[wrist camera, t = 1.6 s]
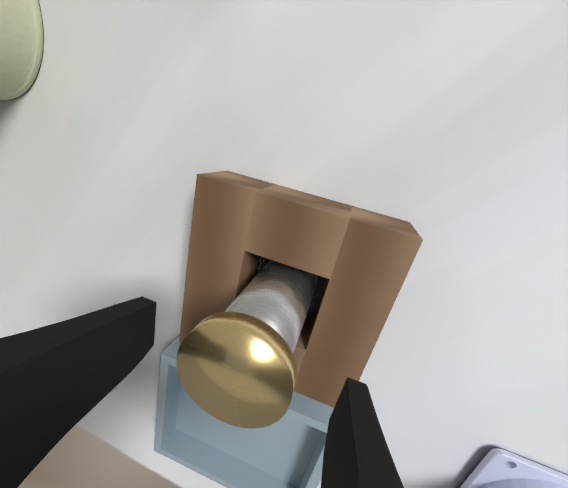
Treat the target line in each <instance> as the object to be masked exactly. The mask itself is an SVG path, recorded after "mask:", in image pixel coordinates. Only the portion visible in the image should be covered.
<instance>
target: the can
mask: <svg viewBox="0 0 568 488" xmlns="http://www.w3.org/2000/svg"><path fill="white" fill-rule="evenodd" d="M42 52H43V25H42V17H41V11H40V6H39V2H38V0H0V100H10V99H14V98H17V97H19V96H21V95H22V94H23V93H25V92H26V91H27V90H28V89H29V88H30V87H31V85H32V83H33V82H34V80H35V78H36V76H37V74H38V71H39V68H40V64H41V59H42Z"/></svg>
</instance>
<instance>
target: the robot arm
mask: <svg viewBox="0 0 568 488" xmlns="http://www.w3.org/2000/svg"><path fill="white" fill-rule="evenodd" d="M155 316H156V302H154V301H152V300H149V299H147V298H144V297H140V298H136V299H132V300H129V301H126V302H123V303H119V304H116V305H113V306H110V307H107V308H104V309H101V310H98V311H95V312H91V313H88V314H85V315H82V316H79V317H76V318H72V319H69V320H66V321H62V322H59V323H55V324H52V325H48V326H45V327H41V328H38V329H34V330H31V331H27V332H23V333H19V334H16V335H12V336H8V337H3V338H0V488H17V487H18V486H19V485H20V484H21V483H22V482H23V480H24V479H25V478H26V477H27V476H28V475H29V474H30V472H31V471H32V470H33V469H34V468H35V467H36V466H37V465H38V464H39V463H40V461H41V460H42V459H43V458H44V457H45V456H46V455H47V453H48V452H49V451H50V450H51V449H52V448H53V447H54V446H55V445H56V444H57V443H58V441H59V440H61V439H62V438H63V436H64V435H65V434H66V433H67V432H68V431H69V430H70V429H71V428H72V427H73V426H74V425H75V424H77V423H78V422H79V421H80V420H81V419H82V418H83V417H84V416H85V415H86V414H87V413H88V412H89V411H90V410H91V409H92V408H93V407H95V406H96V405H97V404H98V403H99V402H100V401H101V400H102V399H103V398H104V397H105V396H106V395H107V394H108V393H109V392H110V391H111V390H112V389H114V388H115V387H116V386H117V385H118V384H119V383H120V382H121V381H122V380H123V379H124V378H125V377H126V376H127V375H128V374H129V373H130V372H131V371H132V370H133V369H134V368H135V367H136V366H137V365H138V363H139V362H140V361H141V360H142V359H143V358H144V356H145V355H146V354H147V353H148V351H149V350H150V349H151V348H152V346H153V345H154V333H155ZM321 488H404V487H403V484H402V482H401V479H400V477H399V475H398V472H397V470H396V467H395V464H394V462H393V459H392V456H391V454H390V451H389V449H388V446H387V443H386V441H385V438H384V435H383V432H382V429H381V427H380V424H379V421H378V418H377V415H376V412H375V409H374V406H373V402H372V399H371V396H370V393H369V389H368V387H367V385H366V384H364V383H362V382H359V381H357V380H354V379H351V378H349V377H347V379H346V381H345V384H344V386H343V388H342V391H341V393H340V395H339V398H338V400H337V402H336V405H335V407H334V409H333V412H332V414H331V416H330V418H329V423H328V429H327V435H326V441H325V447H324V454H323V466H322V480H321ZM460 488H568V475H565V474H563V473H560V472H558V471H555V470H553V469H550V468H548V467H545V466H543V465H540V464H538V463H535V462H533V461H530V460H528V459H525V458H523V457H520V456H518V455H515V454H513V453H510V452H508V451H505V450H503V449H499V448H494V449H492V450H490V451H489V452H488V454H487V455H486V456H485V457H484V458H483V460H482V461H481V462H480V463H479V465H478V466H477V467H476V468H475V470H474V471H473V472H472V473H471V475H470V476H469V477H468V478H467V479H466V481H465V482H464V483H463V484H462V486H461V487H460Z"/></svg>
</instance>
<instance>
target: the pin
mask: <svg viewBox="0 0 568 488" xmlns="http://www.w3.org/2000/svg"><path fill="white" fill-rule="evenodd" d="M317 281H318V276H317V275H315V274H312V273H309V272H306V271H303V270H300V269H297V268H294V267H291V266H288V265H285V264H282V263H279V262H276V261H273V260H269V261H268V263H267V264H266V265H265V266H264V267H263V268H262V269H261V271H260V272H259V273H258V274H257V275H256V276H255V277H254V278H253V280H252V281H251V282H250V283H249V284H248V285H247V286H246V288H245V289H244V290H243V291H242V292H241V293H240V294H239V296H238V297H237V298H236V299H235V300H234V301H233V302H232V304H231V305H230V306H229V307H228V308H227V309H226V310H225V312H220V313H215V314H213V315H210V316H208V317H206V318H205V319H203V320H202V321H201V322H200V323H199V324H198V325H197V326H196V327H195V328H194V329H193V330H192V331H191V332H190V333H189V334H188V335H187V336H186V337H185V338H184V340H183V341H182V342H181V344H180V346H179V349H178V352H177V359H176V364H177V371H178V375H179V377H180V380H181V382H182V384H183V386H184V388H185V390H186V391H187V393H188V394H189V395H190V397H191V398H192V399H193V400H194V401H195V402H196V404H197V405H199V406H200V407H201V408H202V409H203V410H204V411H206V412H207V413H208V414H210V415H211V416H213V417H214V418H216V419H218V420H220V421H222V422H224V423H227V424H229V425H233V426H236V427H241V428H249V429H254V428H263V427H267V426H270V425H272V424H274V423H276V422H277V421H279V420H280V419H281V418H282V417H283V416H284V415H285V413H286V412H287V410H288V408H289V406H290V403H291V399H292V396H293V392H294V389H295V385H296V381H297V365H296V361H295V358H294V355H293V353H294V350H295V348H296V345H297V342H298V339H299V336H300V333H301V330H302V327H303V324H304V321H305V318H306V315H307V312H308V309H309V306H310V304H311V301H312V298H313V295H314V292H315V289H316V286H317Z"/></svg>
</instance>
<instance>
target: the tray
mask: <svg viewBox="0 0 568 488" xmlns="http://www.w3.org/2000/svg"><path fill="white" fill-rule="evenodd" d="M179 339H180V335H179V336H178V337H177V338H176V339H175V340H174V341H173V342H172V343H171V344H170V345H169V346H168V347H167V348H166V349H165V350H164V351H163V352H162V353H161V361H160V374H159V387H158V401H157V414H156V427H155V440H154V451H156V452H158V453H160V454H162V455H164V456H166V457H168V458H170V459H172V460H174V461H176V462H178V463H180V464H182V465H184V466H186V467H188V468H190V469H192V470H194V471H196V472H197V473H199V474H201V475H203V476H205V477H207V478H209V479H211V480H213V481H215V482H217V483H219V484H221V485H223V486H225V487H227V488H317V486H318V483H319V481H320V479H321V477H322V466H323V454H324V447H325V441H326V435H327V429H328V423H329V418H330V416H331V414H332V412H333V409H334V408H333V407H330V406H328V405H325V404H323V403H321V402H318V401H316V400H313V399H311V398H309V397H306V396H304V395H301V394H299V393H297V392H293V396H292V399H291V403H290V406H289V408H288V410H287V412H286V413H285V415H284V416H283V417H282V418H281V419H280V420H279V421H277V422H276V423H274V424H272V425H270V426H267V427H263V428H254V429H249V428H241V427H236V426H233V425H229V424H227V423H224V422H222V421H220V420H218V419H216V418H214V417H213V416H211V415H210V414H208V413H207V412H206V411H204V410H203V409H202V408H201V407H200V406H199V405H197V404H196V402H195V401H194V400H193V399H192V398H191V397H190V395H189V394H188V393H187V391H186V390H185V388H184V386H183V384H182V382H181V380H180V377H179V375H178V371H177V364H176V359H177V352H178V349H179V346H180V343H179Z"/></svg>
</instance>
